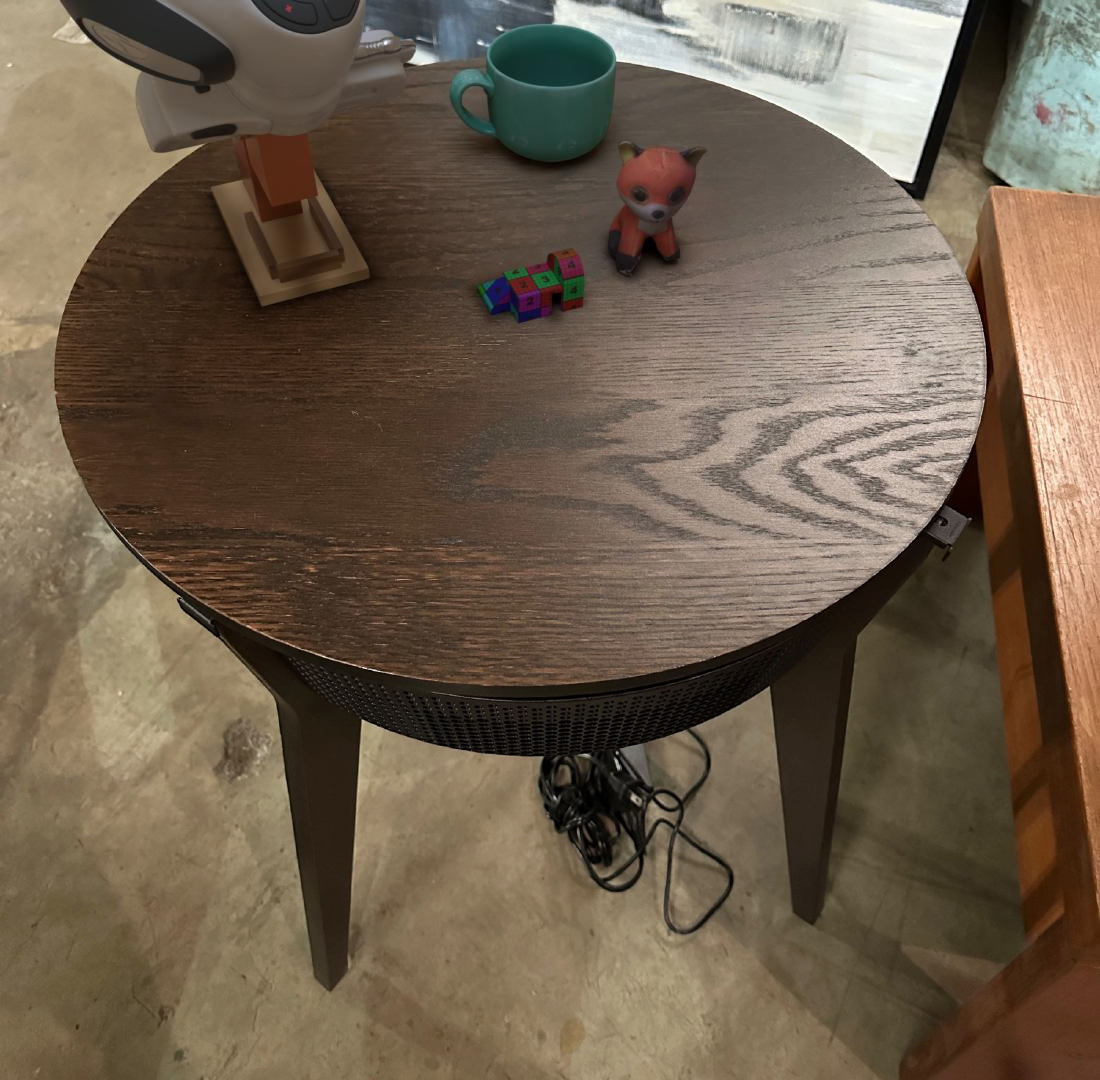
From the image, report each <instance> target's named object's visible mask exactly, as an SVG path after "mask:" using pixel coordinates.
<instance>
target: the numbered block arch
mask: <svg viewBox="0 0 1100 1080" xmlns="http://www.w3.org/2000/svg"><path fill="white" fill-rule="evenodd" d="M584 269H585V268H584V266H583V262H582V260H581V257H580V255H579V253H578V251H577V250H576V249H575V248H573V247H571V248H567V249H563V250H558V251H554V252H550V253H548V255H547V257H546V262H542V263H538V264H534V265H529V266H526V267H520V268H517V269H513V270H509V271H508V270H507V271H504V272H502V277H499V278H496V279H493V280H490V281H487V282H485V283H482V284H480V285H477V286H476V287H477V288H476V289H477V290H476V291H477V293H478V294H479V296H480V298H481V299H482V301H483V302H484V305H485V306H486V308H487V309H488V312H489V313H490V315H496V314H501V313H505V312H508V311H510V312H511V314H512V315H513V317H514V318H515V320H516V322H517V323H518V324H520V323H523V322H529V321H531V320H535V319H539V318H543V317H547V316H550V315H552V304H553V303H552V300H553V295H554V294H555V295H556V294H559V293H560V311H561V312H565V311H570V310H574V309H578V308H583V307H584V299H585V297H584V295H585V281H586V280H585V270H584Z"/></svg>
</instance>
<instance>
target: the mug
mask: <svg viewBox="0 0 1100 1080" xmlns="http://www.w3.org/2000/svg"><path fill="white" fill-rule="evenodd" d="M485 57H486V58H485V70H486V71H485V72H483V71H482V70H479V69H474V68H468V69H464V70H462V71H460V72H458V73H457V74H456V75H455V76H454V77H453V79H452V80H451V83H450V85H449V94H448V95H449V101H450V104H451V106H452V108H453V110H454V112H455V113H456V114H457V117H459V119H460V120H461V121H462V122H463V124H465V126H467V127H468V128H470V129H471V130H472V131H474V132H476V133H478V134H481V135H484V136H486V137H491V138H497V139H498V140H499V142H501V143H502V144H503V145H504V146H505V147H506V148H508V149H509V150H510V151H512V152H514V153H516V154H517V155H518V156H521V157H525V158H528V159H530V160H533V161H537V162H542V163H558V162H564V161H568V160H569V161H570V160H572V159H575V158H578V157H581V156H584V155H585V154H587V153H589V152H590V151H592V150H593V149H594V148H595V147H597V146H598V145H599V143H601V141H602V140H603V139H604V137H605V135H606V133H607V131H608V128H609V126H610V123H611V119H612V114H613V107H614V98H615V87H616V75H617V55H616V52H615V50H614V48H613V47H612V46H611V45H610V43H609V42H607V40H605V39H604V38H602V37H601V36H600V35H598V34H595V33H593V32H591V31H589V30H586V29H583V28H580V27H577V26H572V25H566V24H558V23H536V24H535V23H534V24H528V25H523V26H522V25H521V26H518V27H515V28H512V29H510V30H507V31H505V32H503V33H501V34H500V35H498V36H497V37H495V39H493V40H492V41H491V43H490V44H489V45H488V47H487V50H486V56H485ZM471 87H479V88H482V89H483V92H484V94H485V95H486V101H487V113H488V119H489V120H487V119H484V118H482V117H479V116H477V115H476V114H474V113H472V112H471V111H469V110H468V108H466V107H465V106H464V104H463V101H462V100H463V95H464V94H465V92H466V90H467V89H469V88H471Z"/></svg>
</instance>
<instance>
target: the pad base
mask: <svg viewBox="0 0 1100 1080" xmlns="http://www.w3.org/2000/svg"><path fill="white" fill-rule="evenodd" d="M231 141H232V144H233V150H234V153H235V157H236V161H237V165H238V170H239V173H240V174H239V175H240V178H241V179H240V180H235V181H230V182H226V183H222V184H218V185H213V186H210V190H211V194H212V198H213V200H214V203H215V205H216V207H217V210H218V211H219V213H220V216H221V219H222V220H223V223H224V225H225V228H226V230H227V231H228V233H229V236H230V238H231V241H232V243H233V246H234V248H235V250H236V252H237V254H238V256H239V260H240V261H241V263H242V265H243V268H244V270H245V272H246V274H247V277H248V279H249V281H250V283H251V285H252V289H253V290H254V292H255V295H256V297H257V299H258V301H259V303H260V306H261V307H266V306H269V305H273V304H277V303H281V302H284V301H289V300H292V299H297V298H300V297H303V296H307V295H311V294H315V293H319V292H323V291H327V290H330V289H334V288H337V287H338V288H339V287H341V286H344V285H349V284H354V283H357V282H360V281H361V282H362V281H364V280H368V279H371V275H370V267H369V266H368V264H367V262H366V260H365V259H364V257H363V255H362V254H361V252H360V250H359V248H358V246H357V244H356V242H355V241H354V239H353V237H352V235H351V233H350V231H349V230H348V228H347V226H346V225H345V223H344V221H343V219H342V218H341V215H340V214H339V212H338V210H337V209H336V206H335V205H334V203H333V201H332V199H331V198H330V195H329V194H328V192H327V191H326V189H325V187H324V185H323V183H322V181H321V180H320V178H319V176H318V175H317V173H316V171H315V169H314V168H313V170H314V175H315V181H316V186H317V192H318V196H316V197H312V198H307V199H303V200H299V201H295V202H291V203H287V204H282V205H278V206H274V207H272V205H271V203H270V201H269V199H268V197H267V195H266V193H265V191H264V189H263V187H262V185H261V183H260V181H259V179H258V177H257V175H256V173H255V171H254V169H253V167H252V165H251V163H250V159H249V155H248V150H247V146H246V142H245V139H244V140H240V141H235V142H234V140H233V138H231Z"/></svg>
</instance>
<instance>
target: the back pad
mask: <svg viewBox="0 0 1100 1080" xmlns="http://www.w3.org/2000/svg"><path fill="white" fill-rule="evenodd" d="M245 142H246V146H247V150H248V155H249V159H250V163H251V165H252V167H253V169H254V171H255V173H256V175H257V177H258V179H259V181H260V183H261V185H262V187H263V189H264V191H265V193H266V195H267V197H268V199H269V201H270V203H271V205H272V207H274V206H278V205H282V204H287V203H291V202H295V201H299V200H303V199H307V198H312V197H316V196H318V192H317V186H316V181H315V175H314V171H315V169H314V165H313V159H312V153H311V149H310V148H311V147H310V144H309V142H310V141H309V136H308V132H307V133H304V134H300V135H294V136H280V135H274V134H270V133H268V134H263V135H252V134H251V138H248V139H245ZM313 169H314V170H313Z"/></svg>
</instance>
